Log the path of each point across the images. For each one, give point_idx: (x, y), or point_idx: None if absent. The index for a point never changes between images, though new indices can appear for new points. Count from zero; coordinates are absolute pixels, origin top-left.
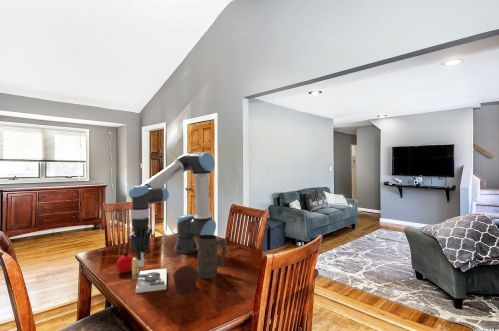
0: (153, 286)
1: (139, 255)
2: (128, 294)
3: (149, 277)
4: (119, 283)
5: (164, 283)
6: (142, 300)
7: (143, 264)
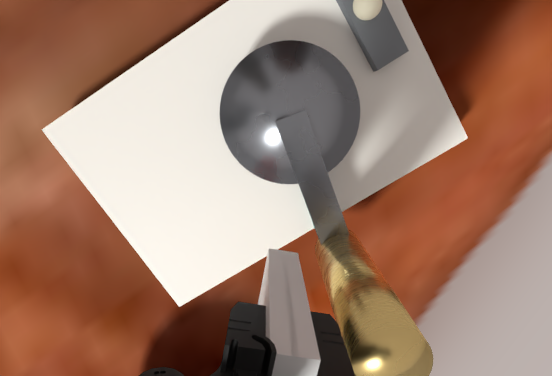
0: (408, 16)
1: (334, 358)
2: (474, 169)
3: (343, 108)
4: None
5: None
6: (542, 14)
7: (271, 255)
